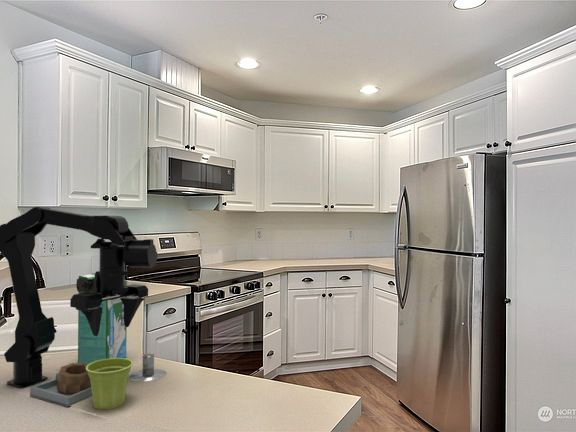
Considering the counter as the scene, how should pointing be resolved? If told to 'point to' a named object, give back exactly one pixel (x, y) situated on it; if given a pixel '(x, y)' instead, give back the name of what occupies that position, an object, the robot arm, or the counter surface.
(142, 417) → the counter surface
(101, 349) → the milk carton
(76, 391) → the ring
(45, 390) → the tray
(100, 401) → the plant pot
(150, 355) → the grey peg stand
